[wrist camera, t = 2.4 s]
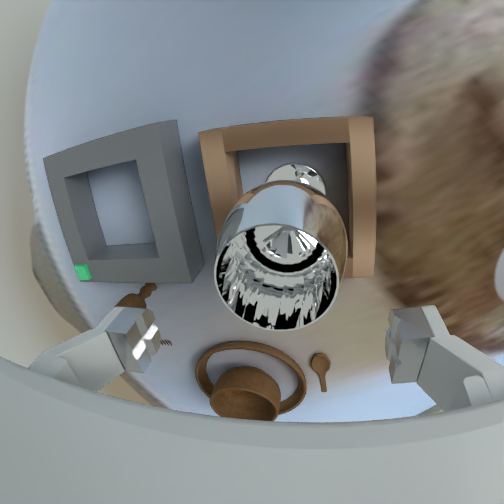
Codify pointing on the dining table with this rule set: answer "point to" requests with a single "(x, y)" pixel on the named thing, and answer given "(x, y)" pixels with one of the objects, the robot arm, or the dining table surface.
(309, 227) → the wineglass
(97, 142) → the frame
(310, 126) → the wooden square frame
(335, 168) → the dining table surface
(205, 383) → the place setting
